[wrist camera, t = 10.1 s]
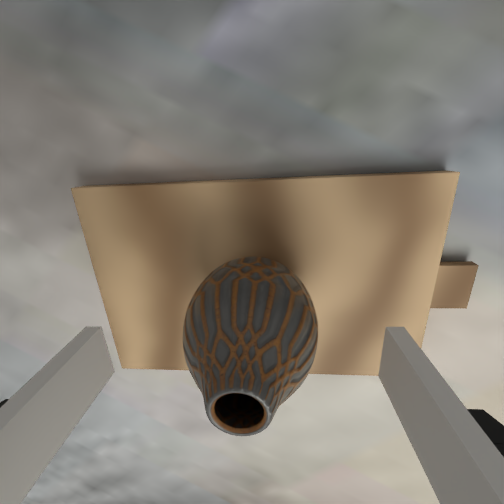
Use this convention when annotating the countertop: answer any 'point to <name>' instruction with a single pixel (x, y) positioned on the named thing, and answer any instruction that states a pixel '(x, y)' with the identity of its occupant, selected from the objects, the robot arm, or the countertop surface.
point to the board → (277, 256)
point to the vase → (249, 341)
